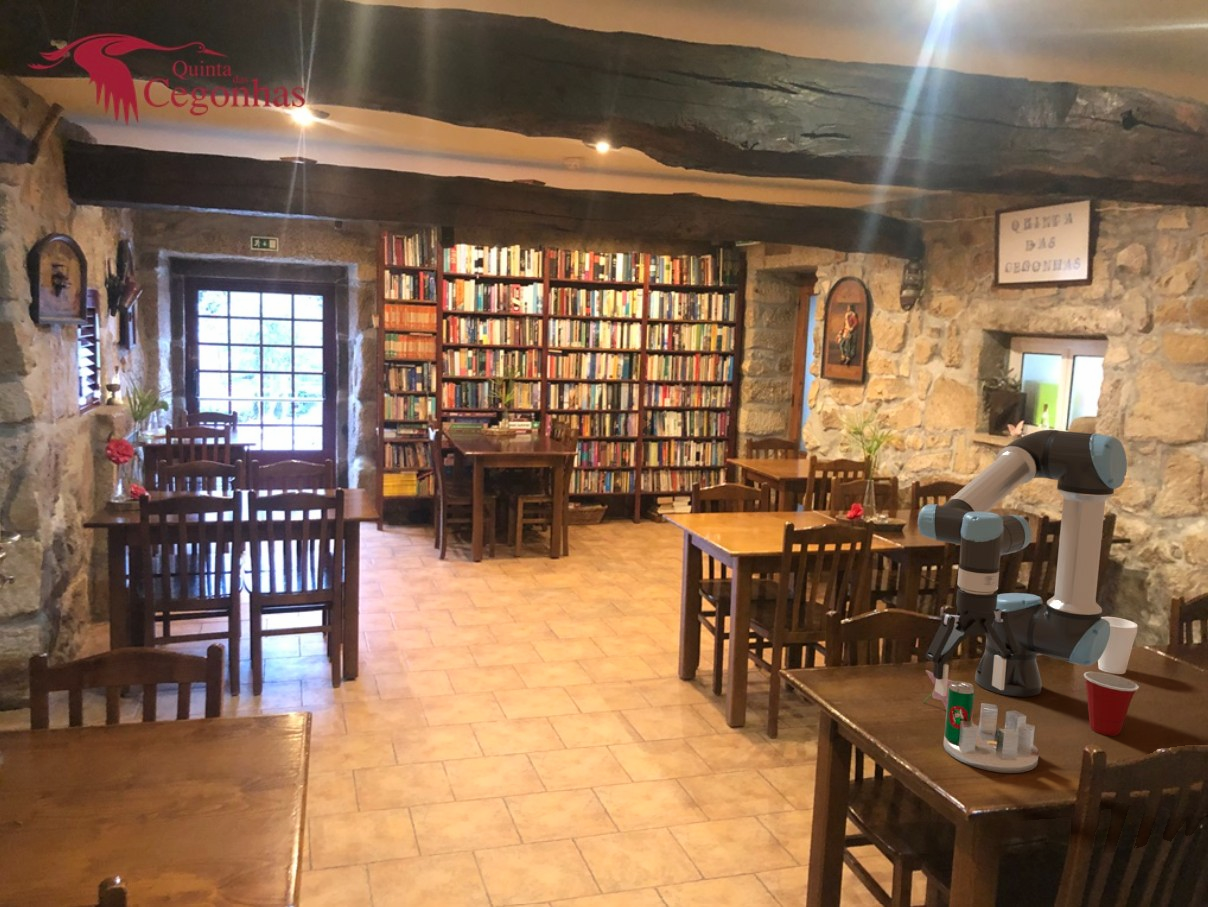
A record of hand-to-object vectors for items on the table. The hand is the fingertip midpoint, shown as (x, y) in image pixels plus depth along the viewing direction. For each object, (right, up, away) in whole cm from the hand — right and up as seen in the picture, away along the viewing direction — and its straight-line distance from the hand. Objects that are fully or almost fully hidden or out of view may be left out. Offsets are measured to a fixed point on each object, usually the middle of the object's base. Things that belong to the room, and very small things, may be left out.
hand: (969, 690), depth 185 cm
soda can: (-1, -11, +4) cm, 12 cm away
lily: (+4, -11, +26) cm, 29 cm away
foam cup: (+60, -9, +56) cm, 83 cm away
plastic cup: (+37, -13, +17) cm, 43 cm away
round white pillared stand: (+5, -14, +3) cm, 15 cm away
